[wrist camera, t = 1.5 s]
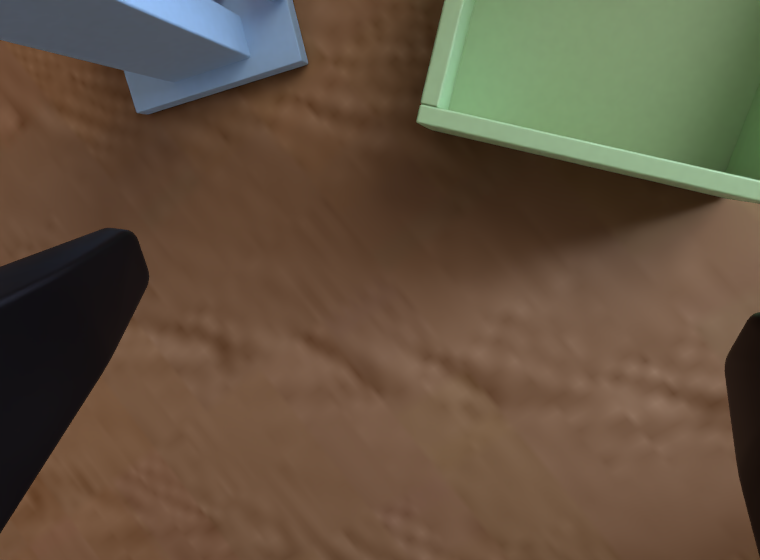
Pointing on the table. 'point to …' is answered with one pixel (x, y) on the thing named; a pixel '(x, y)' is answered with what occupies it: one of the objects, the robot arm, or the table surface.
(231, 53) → the blue post stand
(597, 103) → the green planter box
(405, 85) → the table surface
